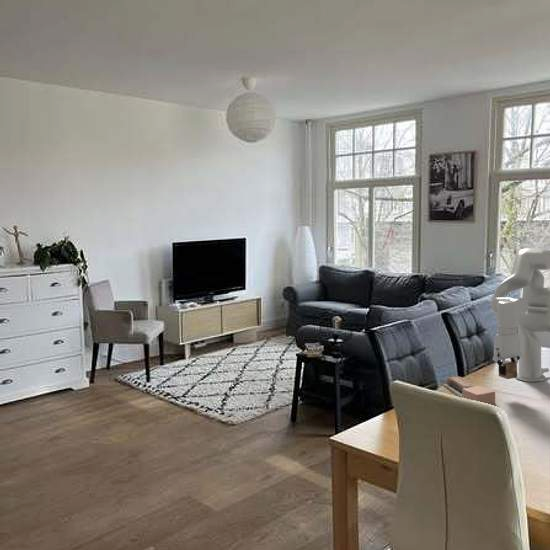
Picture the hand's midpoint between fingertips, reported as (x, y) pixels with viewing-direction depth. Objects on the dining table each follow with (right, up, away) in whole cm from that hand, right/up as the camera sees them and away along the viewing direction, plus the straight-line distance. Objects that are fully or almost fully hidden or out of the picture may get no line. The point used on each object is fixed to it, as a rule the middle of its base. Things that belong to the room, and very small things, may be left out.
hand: (507, 373), depth 228 cm
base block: (-13, -11, -3) cm, 18 cm away
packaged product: (-15, -11, +12) cm, 22 cm away
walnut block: (0, -2, 0) cm, 2 cm away
